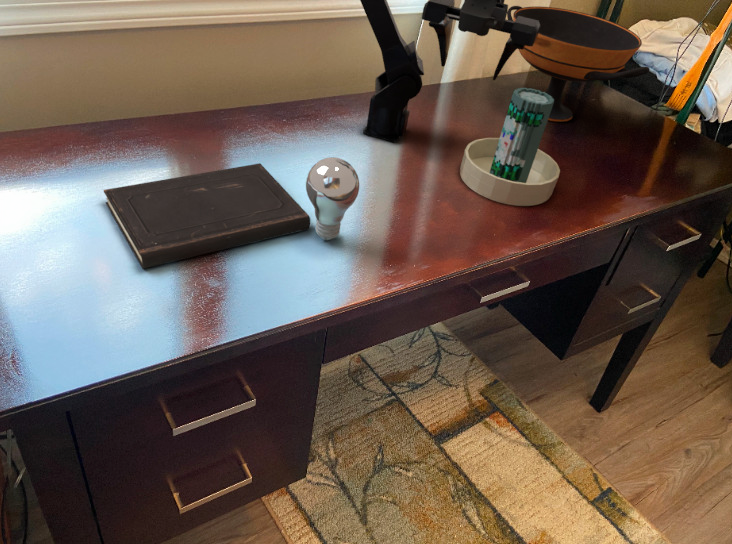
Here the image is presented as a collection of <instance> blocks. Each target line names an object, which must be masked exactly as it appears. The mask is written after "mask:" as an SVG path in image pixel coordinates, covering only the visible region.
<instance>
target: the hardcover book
mask: <svg viewBox="0 0 732 544" xmlns="http://www.w3.org/2000/svg"><path fill="white" fill-rule="evenodd" d="M103 194H104V196H105V197H106V198H105V199H106V200H107V201H105V205H106V207H107V209H108V210H109V212H110V214H111V216H112V218H113V219H114V221H115V223H116V224H117V227H118V228H119V230H120V232H121V234H122V235H123V237H124V239H125V241H126V242H127V244H128V246H129V248H130V250H131V251H132V253H133V255H134V256H135V258H136V260H137V262H138V263H139V265H140V267H141V269H147V268H151V267H155V266H160V265H164V264H168V263H172V262H176V261H181V260H185V259H190V258H193V257H197V256H201V255H206V254H209V253H210V254H211V253H215V252H219V251H223V250H228V249H230V248H237V247H239V246H245V245H248V244H252V243H255V242H260V241H265V240H269V239H274V238H277V237H281V236H285V235H290V234H294V233H298V232H302V231H306V230H309V229H310V228H311V217H310V215H309V214H308V213H307V212H306V211H305V210H304V209H303V208H302V207H301V205H300V204H299V203H298V202H297V201H296V200H295V199H294V198H293V197H292V196H291V194H290V193H289V192H288V191H286V189H285V188H284V187H283V186H282V184H280V182H278V181H277V179H276V178H275V177H274V176H273V175H272V174H271V173H270V172H269V171H268V170H267V169H266V167H264V165H262V163H254V164H248V165H242V166H235V167H231V168H224V169H219V170H212V171H206V172H201V173H196V174H189V175H184V176H177V177H171V178H166V179H161V180H153V181H147V182H142V183H136V184H129V185H124V186H118V187H113V188H107V189H103Z"/></svg>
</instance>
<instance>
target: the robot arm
mask: <svg viewBox="0 0 732 544" xmlns="http://www.w3.org/2000/svg"><path fill="white" fill-rule="evenodd" d="M359 1H360V3H361V6H362V8H363V10H364V13H365V15H366V18H367V20H368V22H369V25H370V27H371V30H372V32H373V34H374V36H375V39H376V42H377V44H378V46H379V48H380V51H381V56H382V63H383V67H384V71H383V72H382V73H380V74H379V75H377V76H376V77H375V81H374V82H375V83H374V94H373V95H372V96H370V99H369V100H370V101H369V106H368V107H369V108H368V114H367V121H366V126H365V127H364V128H363V130H362V134H364V135H367V136H371V137H375V138H378V139H381V140H385V141H388V142H392V143H397V142H398V141H399V139H400V138H402V137H403V136H404V135H405V133H406V132H407V128H408V123H409V117H410V113H411V111H410V110H408V106H409V102H410V100H412V99H415V98H416V97H417V96H418V95H419V93H421V90H422V88H423V78H422V77H423V76H425V70H424V61H423V59H421V57H420V56H419V54H418V50H417V47H416V46H417V45H416V41H415V40H412V41H411V42H409V43H407V42H406V41H405V39H404V38H403V36H402V35H401V33H400V31H399V28H398V25H397V22H396V20H395V18H394V16H393V13H392V10H391V8H390V5H389V3H388V0H359ZM505 1H506V0H464V1H463V3H462V6H461V7H457V6H455V3H456V2H455V0H428V1H426V2H425V3H424V6H423V9H422V15H421V19H422V20H423V21H427V22H428V26H429V27H430V28H433V30H434V32H435V33H436V37H437V41H438V48H439V56H440V66H441V67H445V66H446V63H447V59H448V56H449V55H448V53H449V49H450V43H451V42H450V41H451V35H452V29H453V22H454V21H458V24H457V29H458V30H459V31H461V32H462V33H463V32H464V33H466V32H469V33H472V34H476V35H477V36H479V37H485V36H487V35H488V34H489V32H490V30H493V31H498V32H500V33H501V32H502V33H506V34H508V35H509V38H507V40H506V42H505V45H504V48H503V51H502V53H501V55H500V58H499V59H498V62H497V65H496V67H495V70H494V73H493V76H492V80H493V81H496V79H497V78H498V76H499V75H500V73H501V72H502V70H503V69H504V66H505V65H506V63H507V62H508V60H509V59H510V57H512V55H513V54H514V53H515V51H516V50H519V49H524V47H525V45H526V46H533V45H534V43H535V41H536V39H537V36H538V32H539V29H540V23H539V21H538V20H534V19H530V18H526V17H522V16H518V17H517V19H516V20H515V22H514V20H513V21H510V20H508V19H507V12H508V9H509V4H507V3H505Z"/></svg>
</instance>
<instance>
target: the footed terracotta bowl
mask: <svg viewBox="0 0 732 544" xmlns="http://www.w3.org/2000/svg"><path fill="white" fill-rule="evenodd" d="M512 11H514V12H513V14H512ZM512 15H513V16H512ZM518 16H522V17H526V18H530V19H534V20H538V21H539V23H540V29H539V32H538V36H537V39H536V41H535V43H534V45H533V46H526V45H525V47H524V49H518V52H519V54H520V55H521V57H522V58H523V59H524V60H525V62H527V63H528V64H529V65H530V66H531V67H532V68H534V69H535V70H537V71H539V72H540V73H542V74H544V75H546V76H549V77H551V78H550V82H549V84H548V86H547V89H546V91H545V93H547V94H548V95H550V96H552V98H553V99H554V104H553V107H552V110H551V112H550V115H549V118H548V121H551V122H568V121H570V120H572V119H573V116H574V114H573V111H571V109H570V108H568V107H566V106H565V105H563V104H562V98H563V93H564V89H565V86H566V84H567V82H576V83H578V82H579V83H587V82H594V81H596V82H597V81H600V82H601V81H614V80H619V79H632V78H637V77H640V76H644V75H645V74H648V73H649V72H650V71H651V69H650V67H649V66H641V67H637V68H636V67H635V68H632V69H625V67H626V65H627V63H628V62H629V60H630V59H631V58H632V57H633V56H634V55H635V53H637V51H638V50H639V49H640V48H641V46H642V45H643V42H642V39H641V38H640V37H639V36H638V35H637V34H636V33H635V32H633V31H632V30H630V29H628V28H627V27H625V26H623V25H621V24H619V23H616V22H614V21H611V20H608V19H605V18H602V17H600V16H597V15H593V14H589V13H585V12H580V11H576V10H572V9H567V8H566V9H565V8H560V7H551V6H524V7H522V6H520V5H512V6H511V7H508V11H507V15H506V19H507V20H510V21H514V22H515V20H516V19H517V17H518Z"/></svg>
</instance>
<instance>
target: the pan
mask: <svg viewBox="0 0 732 544" xmlns="http://www.w3.org/2000/svg"><path fill="white" fill-rule="evenodd" d="M499 139H500V137H483V138H478V139H475V140H473V141H471V142H469V143H468V144H467V145H466V147H465V149H464V152H463V155H462V160H461V164H460V167H459V168H460V169H459V175H460V178H461V180H462V181H463V183H464V184H465V185H466V186H467V187H468V188H469V189H470V190H472V191H473V192H474V193H476V194H478V195H479V196H482V197H484V198H486V199H489V200H491V201H494V202H496V203H501V204H504V205H509V206H517V207H530V206H531V207H532V206H537V205H541V204H544V203H546V202H547V201H548V200H549V199H550V198H551V196H552V195H553V193H554V190H555V187H556V184H557V182H558V179H559V176H560V173H561V169H560V167H559V164H558V162H556V160H554V158H553V157H552V156H550V155H549V154H547V153H546V152H544V151H543V150H541V149H539V148H538V150H537V153H536V156H535V159H534V161H533V164H532V167H531V170H530V173H529V176H528V179H527V182H526V183H521V182H514V181H510V180H506V179H503V178H499V177H497V176H494V175H492V174H490V173H489V172H490V169H491V166H492V162H493V159H494V156H495V152H496V149H497V145H498V142H499Z"/></svg>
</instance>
